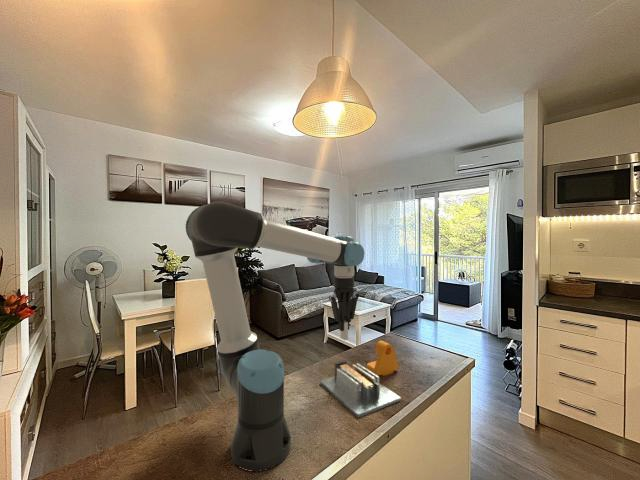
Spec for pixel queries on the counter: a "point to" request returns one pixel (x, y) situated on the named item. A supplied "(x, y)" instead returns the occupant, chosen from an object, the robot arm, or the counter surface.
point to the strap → (359, 376)
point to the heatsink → (359, 390)
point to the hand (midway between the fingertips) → (344, 338)
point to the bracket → (383, 360)
